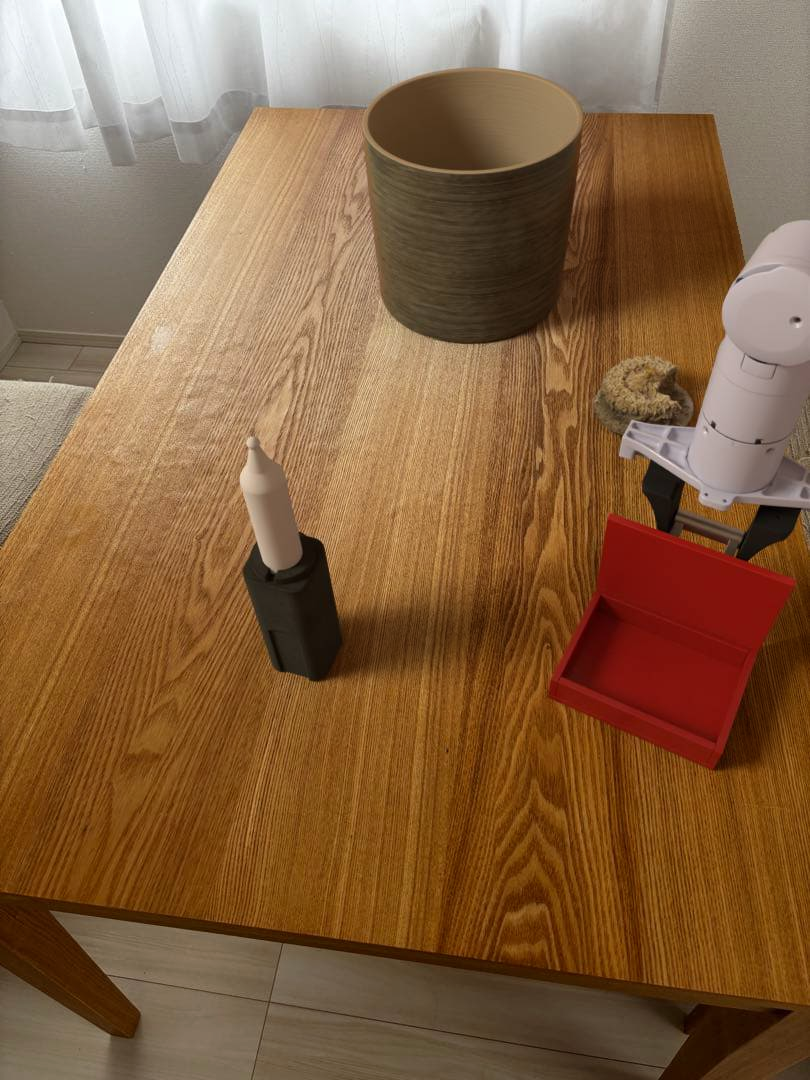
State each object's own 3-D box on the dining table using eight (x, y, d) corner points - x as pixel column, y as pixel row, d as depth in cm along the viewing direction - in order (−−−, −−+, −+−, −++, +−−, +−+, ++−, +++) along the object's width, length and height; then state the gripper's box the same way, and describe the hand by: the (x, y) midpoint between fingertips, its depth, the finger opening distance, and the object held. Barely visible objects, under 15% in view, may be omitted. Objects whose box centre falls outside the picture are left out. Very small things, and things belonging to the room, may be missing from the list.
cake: (598, 447, 86) (600, 407, 82) (588, 381, 92) (589, 340, 88) (701, 440, 85) (709, 399, 81) (684, 373, 91) (690, 332, 87)
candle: (346, 634, 73) (306, 418, 54) (324, 685, 70) (272, 476, 51) (292, 619, 74) (233, 402, 55) (267, 668, 72) (195, 458, 52)
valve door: (794, 586, 58) (811, 537, 60) (607, 518, 62) (628, 475, 64) (758, 650, 67) (774, 606, 68) (596, 587, 71) (615, 547, 73)
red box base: (712, 771, 64) (722, 753, 62) (547, 697, 69) (550, 679, 66) (748, 669, 69) (758, 649, 67) (592, 607, 74) (596, 586, 71)
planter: (356, 255, 108) (339, 88, 92) (524, 220, 111) (535, 53, 95) (406, 365, 94) (395, 192, 79) (595, 322, 97) (621, 147, 82)
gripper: (616, 417, 55) (590, 549, 65) (857, 493, 50) (787, 623, 60) (652, 351, 58) (622, 487, 69) (880, 417, 54) (810, 551, 64)
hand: (701, 546), depth 65 cm, fingers closed on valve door, 5 cm apart
